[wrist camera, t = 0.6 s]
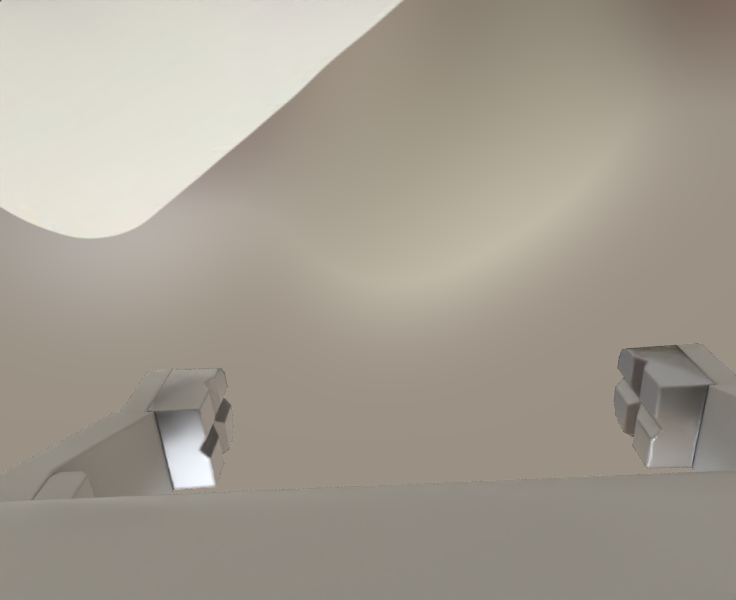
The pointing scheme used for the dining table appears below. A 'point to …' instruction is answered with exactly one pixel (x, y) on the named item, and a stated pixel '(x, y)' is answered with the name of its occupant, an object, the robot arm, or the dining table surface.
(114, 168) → the dining table surface
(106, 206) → the dining table surface
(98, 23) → the dining table surface
